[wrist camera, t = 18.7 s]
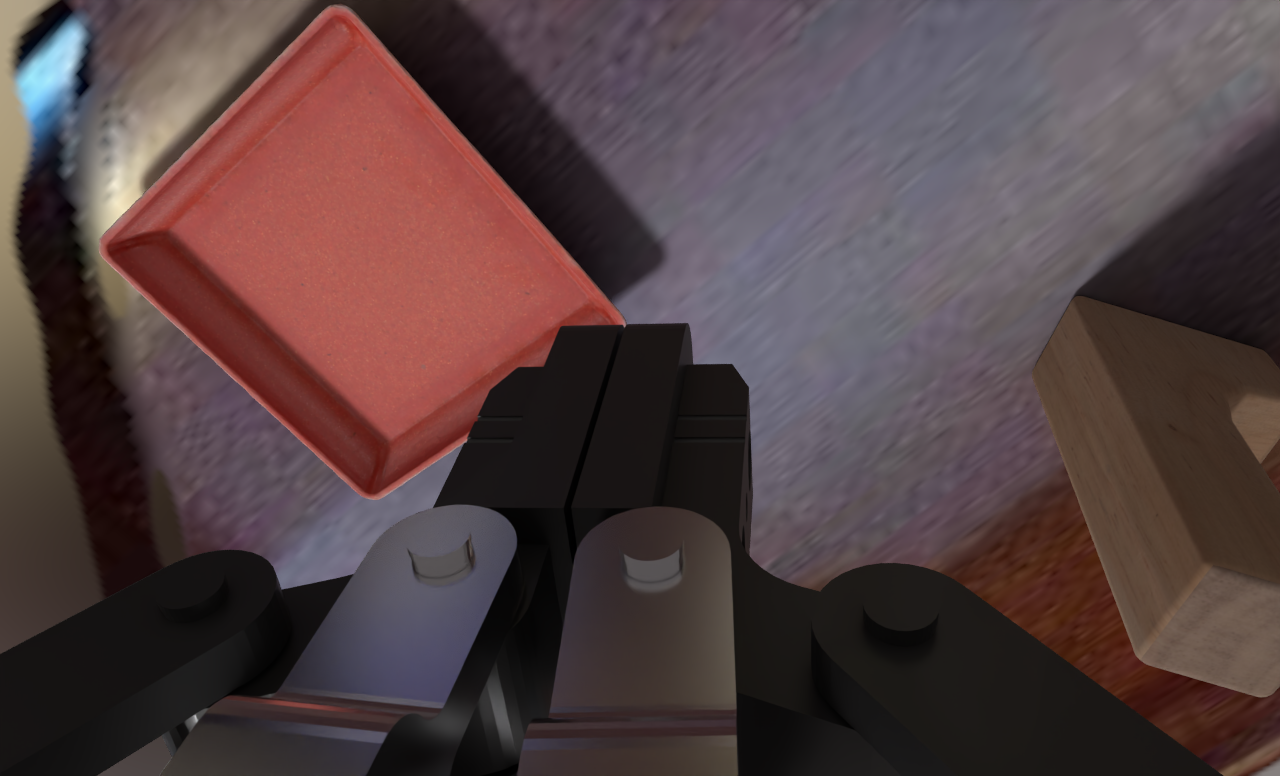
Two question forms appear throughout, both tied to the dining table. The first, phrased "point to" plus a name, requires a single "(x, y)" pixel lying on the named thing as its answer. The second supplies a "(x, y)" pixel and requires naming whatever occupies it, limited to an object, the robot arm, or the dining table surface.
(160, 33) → the dining table surface
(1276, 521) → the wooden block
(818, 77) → the dining table surface
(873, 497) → the dining table surface
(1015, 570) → the dining table surface
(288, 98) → the plant saucer
